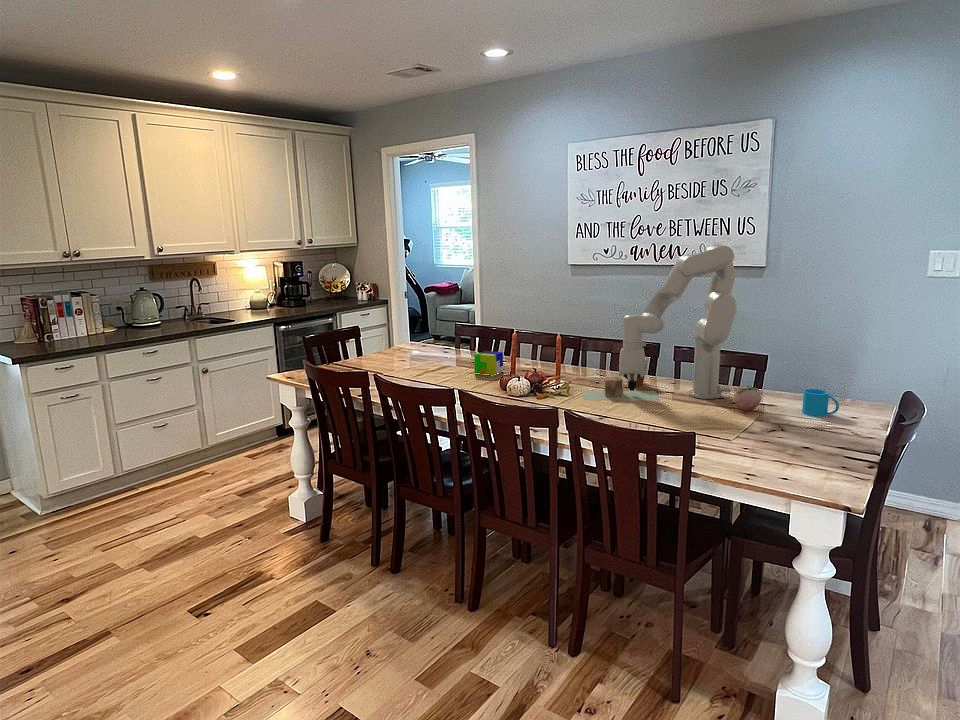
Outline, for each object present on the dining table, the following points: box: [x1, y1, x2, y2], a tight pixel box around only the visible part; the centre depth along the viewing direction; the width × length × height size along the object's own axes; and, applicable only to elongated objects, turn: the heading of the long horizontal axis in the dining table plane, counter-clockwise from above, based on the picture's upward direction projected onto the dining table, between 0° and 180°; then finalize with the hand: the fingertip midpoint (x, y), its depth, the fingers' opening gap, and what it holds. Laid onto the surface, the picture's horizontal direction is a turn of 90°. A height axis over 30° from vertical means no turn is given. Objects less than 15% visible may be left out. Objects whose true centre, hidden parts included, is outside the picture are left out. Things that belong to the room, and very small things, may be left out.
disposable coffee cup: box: [630, 357, 649, 387], centre depth 278 cm, size 10×10×12 cm
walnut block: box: [604, 375, 624, 397], centre depth 262 cm, size 7×7×7 cm
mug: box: [801, 388, 840, 418], centre depth 230 cm, size 12×8×8 cm
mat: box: [582, 389, 661, 402], centre depth 262 cm, size 30×15×1 cm, turn 82°
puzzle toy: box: [473, 350, 504, 375], centre depth 308 cm, size 10×10×10 cm
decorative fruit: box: [733, 385, 762, 413], centre depth 235 cm, size 9×8×10 cm
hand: (631, 389), depth 261 cm, fingers closed
